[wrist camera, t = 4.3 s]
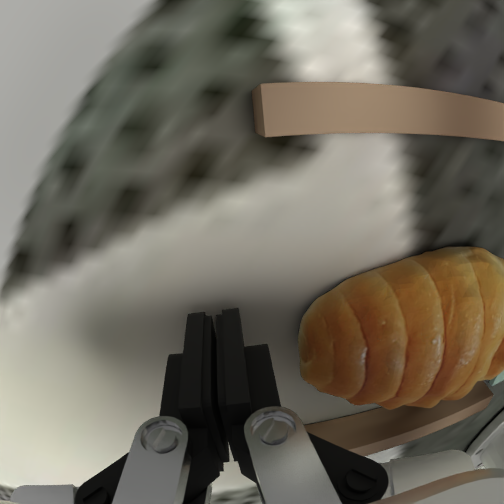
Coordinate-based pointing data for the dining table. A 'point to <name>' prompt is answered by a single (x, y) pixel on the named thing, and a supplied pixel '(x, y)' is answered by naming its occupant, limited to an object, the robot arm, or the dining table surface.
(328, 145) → the dining table surface
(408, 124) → the chute
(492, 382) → the strips
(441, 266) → the pastry
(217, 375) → the robot arm
